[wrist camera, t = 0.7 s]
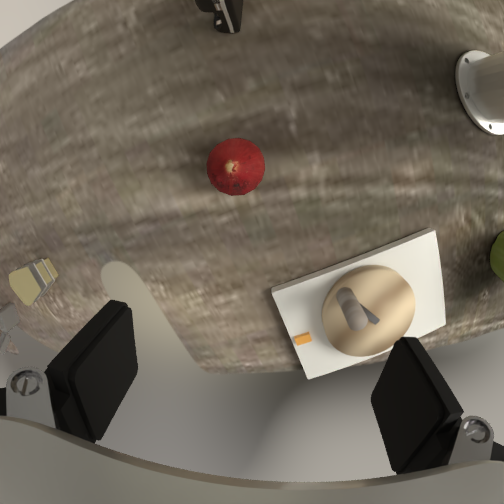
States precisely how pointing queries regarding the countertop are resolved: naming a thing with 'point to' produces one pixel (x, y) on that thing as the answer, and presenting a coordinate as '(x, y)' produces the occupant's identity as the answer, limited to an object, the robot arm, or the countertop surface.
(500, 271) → the plant pot
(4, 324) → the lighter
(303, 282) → the stand
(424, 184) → the countertop surface
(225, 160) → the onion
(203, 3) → the battery charger
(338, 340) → the capstan dial
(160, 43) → the countertop surface
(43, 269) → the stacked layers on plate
